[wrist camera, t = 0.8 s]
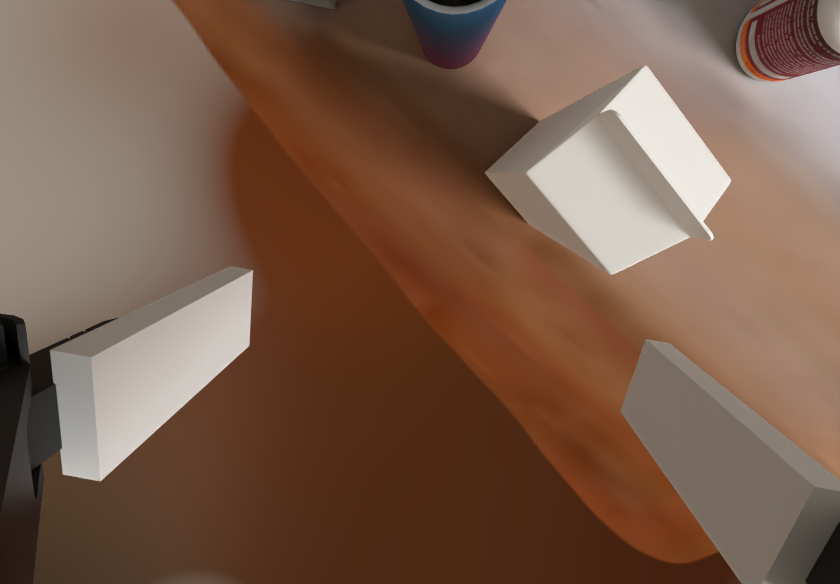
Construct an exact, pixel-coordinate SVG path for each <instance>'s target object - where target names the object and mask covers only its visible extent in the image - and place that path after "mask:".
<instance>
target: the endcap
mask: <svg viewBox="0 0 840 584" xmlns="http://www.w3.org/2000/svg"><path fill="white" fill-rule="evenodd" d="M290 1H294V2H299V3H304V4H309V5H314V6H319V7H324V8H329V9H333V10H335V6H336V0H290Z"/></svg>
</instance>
